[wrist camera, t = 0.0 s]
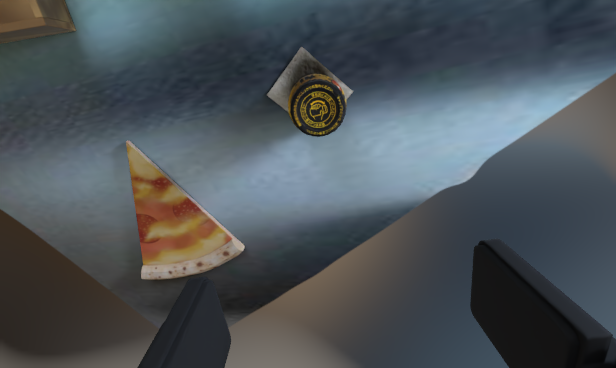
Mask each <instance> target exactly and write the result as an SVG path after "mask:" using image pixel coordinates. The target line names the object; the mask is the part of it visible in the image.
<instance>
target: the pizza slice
mask: <svg viewBox="0 0 616 368" xmlns="http://www.w3.org/2000/svg"><path fill="white" fill-rule="evenodd" d="M126 145H127V152H128V159H129V166H130V173H131V180H132V188H133V195H134V202H135V209H136V216H137V223H138V230H139V237H140V244H141V251H142V258H143V266H142V271H141V279H146V280H161V279H172V278H178V277H185V276H189V275H194V274H199V273H203V272H205V271H208V270H211V269H213V268H216V267H218V266H220V265H221V264H223V263H225V262H227V261H229V260H231V259H233V258H234V257H236V256H238V255H239V254H240V253H241V252H242V251H243V250H244V247H245V246H244V245H243V244H242V243H241V242H240V241H239V240H238V239H237V238H236V237H234V236H233V235H232V234H231V233H230V232H229V231H228V230H227V229H226V228H225V227H223V226H222V225H221V224H220V223H219V222H218V221H217V220H216V219H215V218H214V217H213V216H211V215H210V214H209V213H208V212H207V211H206V210H205V209H204V208H203V207H202V206H200V205H199V204H198V203H197V202H196V201H195V200H194V199H193V198H192V197H191V196H190V195H188V194H187V193H186V192H185V191H184V190H183V189H182V188H181V187H180V186H179V185H177V184H176V183H175V182H174V181H173V180H172V179H171V178H170V177H169V176H168V175H167V174H165V173H164V172H163V171H162V170H161V169H160V168H159V167H158V166H157V165H156V164H154V163H153V162H152V161H151V160H150V159H149V158H148V157H147V156H146V155H145V154H144V153H142V152H141V151H140V150H139V149H138V148H137V147H136V146H135V145H134V144H133V143H131V142H130V141H126Z"/></svg>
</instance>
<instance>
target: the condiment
mask: <svg viewBox="0 0 616 368" xmlns="http://www.w3.org/2000/svg"><path fill="white" fill-rule="evenodd" d="M352 93H353V91H352V90H351V89H350V88H348V87H347V86H346V85H345V84H344V83H343V82H342V81H340V80H339V79H338V78H337V77H336V76H335V75H334V74H332V73H331V72H330V71H329V70H328V69H327V68H326V67H324V66H323V65H322V64H321V63H320V62H319V61H318V60H316V59H315V58H314V57H313V56H312V55H311V54H310V53H308V52H307V51H306V50H305V49H304V48H303V47H301V48H300V49H299V51H298V52H297V54H296V55H295V56H294V58H293V59H292V61H291V62H290V63H289V65H288V66H287V68H286V69H285V70H284V72H283V73H282V75H281V76H280V77H279V79H278V80H277V82H276V83H275V84H274V86H273V87H272V89H271V90H270V91H269V93H268V94H267V96H268V97H270V98H271V99H272V100H273V101H275V102H276V103H277V104H278V105H280V106H281V107H282V108H283V109H285V110H286V111H287V112H288V113H289V115H290V117H291V120H292V121H293V123H294V124H295V126H296V127H297V128H299V129H300V130H301V131H302V132H304V133H305V134H308V135H312V136H317V137H320V136H325V135H328V134H330V133H332V132H334V131H335V130H337V128H338V127H339V126H340V125H341V123H342V122H343V119H344V116H345V112H346V100H347V99H348V98H349V96H350V95H351V94H352Z"/></svg>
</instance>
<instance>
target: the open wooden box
mask: <svg viewBox="0 0 616 368" xmlns="http://www.w3.org/2000/svg"><path fill="white" fill-rule="evenodd" d="M73 31H76V29H75V26H74V24H73V21H72V18H71V16H70V13H69V11H68V8H67V5H66V3H65V0H0V44H2V43H8V42H14V41H20V40H26V39H32V38H38V37H43V36H49V35H55V34H61V33H67V32H73Z"/></svg>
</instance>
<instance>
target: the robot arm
mask: <svg viewBox="0 0 616 368" xmlns="http://www.w3.org/2000/svg"><path fill="white" fill-rule="evenodd" d="M471 311H472V314H473V316H474V318H475V319H476V320H477V322H478V323H479V325H480V326H481V328H482V329H483V331H484V332H485V333H486V335H487V336H488V338H489V339H490V341H491V342H492V343H493V345H494V346H495V348H496V349H497V350H498V352H499V354H500V355H501V356H502V358H503V359H504V361H505V362H506V363H507V365H508V366H509V368H616V339H615V338H613V337H612V336H613V335H612V334H611V333H610V332H609V331H607V330H606V329H605V328H604V327H603V326H602V325H601V324H599V323H598V322H597V321H596V320H595V319H593V318H592V317H591V316H590V315H589V314H588V313H586V312H585V311H584V310H583V309H581V307H579V306H578V305H577V304H576V303H575V302H573V301H572V300H571V299H570V298H569V297H567V296H566V295H565V294H564V293H563V292H562V291H560V290H559V289H558V288H557V287H556V286H554V285H553V284H552V283H551V282H550V281H549V280H547V279H546V278H545V277H544V276H543V275H542V274H540V273H539V272H538V271H537V270H536V269H534V268H533V267H532V266H531V265H530V264H529V263H527V262H526V261H525V260H524V259H523V258H521V257H520V256H519V255H518V254H517V253H516V252H514V251H513V250H512V249H511V248H510V247H509V246H507V245H506V244H505V243H504V242H502V241H501V240H500V239H491V240H483V241H480V242H479V244H478V246H475V247H474V256H473V272H472V289H471ZM230 344H231V336H230V333H229V329H228V326H227V323H226V320H225V317H224V314H223V311H222V308H221V304H220V301H219V298H218V295H217V292H216V289H215V286H214V283H213V281H212V280H208V278H207V277H199V278H192V279H189V280H188V281H187V283H186V285H185V287H184V289H183V290H182V292H181V294H180V296H179V297H178V299H177V301H176V303H175V305H174V306H173V308H172V310H171V312H170V313H169V315H168V317H167V319H166V320H165V322H164V323H163V324H162V326H161V327H160V329H159V331H158V333H157V334H156V336H155V338H154V340H153V341H152V343H151V345H150V347H149V349H148V350H147V352H146V354H145V356H144V357H143V359H142V361H141V363H140V364H139V366H138V368H224V367H225V363H226V359H227V356H228V352H229V349H230Z"/></svg>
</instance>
